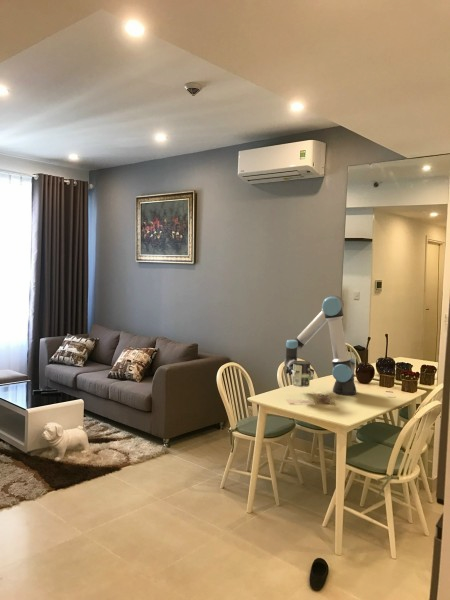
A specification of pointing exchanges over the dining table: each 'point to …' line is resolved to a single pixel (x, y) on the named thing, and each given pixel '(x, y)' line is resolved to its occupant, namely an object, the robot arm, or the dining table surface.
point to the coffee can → (301, 373)
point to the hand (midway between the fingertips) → (303, 374)
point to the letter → (300, 402)
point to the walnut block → (323, 399)
